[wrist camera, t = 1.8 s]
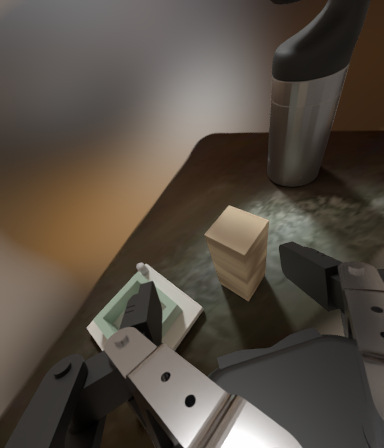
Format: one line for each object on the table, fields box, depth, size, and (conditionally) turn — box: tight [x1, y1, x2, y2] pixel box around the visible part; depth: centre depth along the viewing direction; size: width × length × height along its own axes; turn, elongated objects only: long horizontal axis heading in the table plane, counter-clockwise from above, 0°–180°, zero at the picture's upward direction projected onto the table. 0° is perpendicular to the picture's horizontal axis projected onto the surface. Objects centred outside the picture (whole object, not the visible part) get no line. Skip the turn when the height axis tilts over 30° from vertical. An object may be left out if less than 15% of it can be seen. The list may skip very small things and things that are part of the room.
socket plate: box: [87, 263, 204, 351], centre depth 27 cm, size 12×12×4 cm
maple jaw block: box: [205, 206, 269, 302], centre depth 24 cm, size 4×4×12 cm
